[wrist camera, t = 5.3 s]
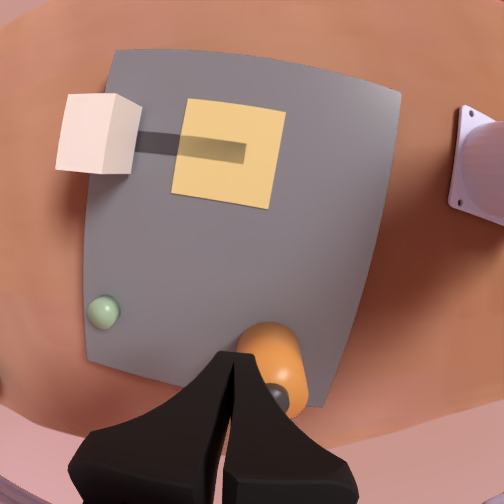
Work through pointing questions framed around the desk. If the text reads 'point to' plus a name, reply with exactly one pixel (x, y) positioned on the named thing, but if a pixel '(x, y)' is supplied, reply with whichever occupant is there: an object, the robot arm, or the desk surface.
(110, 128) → the lever
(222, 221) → the panel
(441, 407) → the desk surface
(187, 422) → the robot arm
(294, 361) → the cap
